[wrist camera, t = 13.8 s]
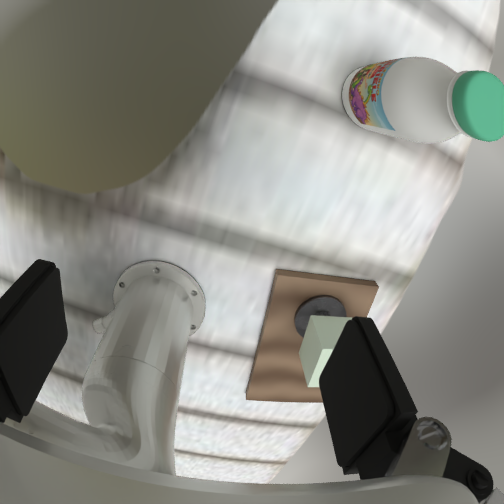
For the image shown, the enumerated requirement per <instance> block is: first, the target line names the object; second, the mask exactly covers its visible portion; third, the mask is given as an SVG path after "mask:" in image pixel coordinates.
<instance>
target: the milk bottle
mask: <svg viewBox="0 0 504 504" xmlns="http://www.w3.org/2000/svg"><path fill="white" fill-rule="evenodd" d="M342 100H343V105H344V108H345V110H346V112H347V114H348V116H349V117H350V118H351V119H352V121H353V122H354V123H356V124H357V125H358V126H360V127H362V128H364V129H367V130H370V131H373V132H377V133H381V134H385V135H389V136H393V137H397V138H401V139H405V140H408V141H413V142H418V143H428V144H432V143H440V142H444V141H447V140H449V139H451V138H453V137H455V136H456V135H458V134H460V133H462V134H463V135H465V136H467V137H471V138H475V139H478V140H482V141H488V142H490V141H495V140H498V139H500V138H501V137H502V136H503V135H504V85H503V84H502V82H501V81H500V80H499V79H498V78H497V77H496V76H495V75H493V74H491V73H489V72H486V71H462V72H459V73H457V72H455V71H454V70H452V69H451V68H450V67H448V66H447V65H445V64H443V63H441V62H439V61H436V60H433V59H430V58H424V57H408V58H400V59H395V60H390V61H385V62H380V63H376V64H372V65H368V66H364V67H361V68H358V69H357V70H355V71H353V72H352V73H351V74H350V75H349V76H348V78H347V79H346V81H345V83H344V86H343V91H342Z"/></svg>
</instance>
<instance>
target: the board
mask: <svg viewBox="0 0 504 504" xmlns="http://www.w3.org/2000/svg"><path fill="white" fill-rule="evenodd" d="M378 288H379V286H378V285H377V283H376V282H375V281H369V280H360V279H352V278H344V277H336V276H328V275H320V274H312V273H304V272H296V271H288V270H280V269H276V273H275V277H274V281H273V285H272V290H271V294H270V298H269V302H268V306H267V310H266V315H265V319H264V323H263V327H262V331H261V335H260V339H259V343H258V347H257V351H256V355H255V359H254V363H253V367H252V371H251V375H250V379H249V383H248V386H247V390H246V400H256V401H275V402H323V400H322V396H321V391H320V387H308V386H307V382H306V379H305V375H304V371H303V367H302V363H301V359H300V355H299V351H300V348H301V345H302V341H303V338H304V335H305V332H306V329H307V326H308V322H309V319H310V316H311V315H316V316H333V317H352V318H353V317H355V316H359V317H367V315H368V313H369V310H370V308H371V305H372V303H373V300H374V298H375V295H376V293H377V290H378Z"/></svg>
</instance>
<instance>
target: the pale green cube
mask: <svg viewBox="0 0 504 504" xmlns="http://www.w3.org/2000/svg"><path fill="white" fill-rule="evenodd" d="M348 320H352V317H333V316H316V315H311V316H310V319H309V322H308V326H307V329H306V332H305V335H304V338H303V341H302V345H301V348H300V351H299V355H300V359H301V363H302V367H303V371H304V375H305V379H306V382H307V386H308V387H319V377H320V375H321V373H322V371H323V369H324V367H325V365H326V363H327V361H328V359H329V357H330V355H331V353H332V351H333V349H334V347H335V345H336V343H337V341H338V339H339V337H340V335H341V333H342V331H343V328H344V326H345V324H346V322H347V321H348Z"/></svg>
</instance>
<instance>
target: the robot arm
mask: <svg viewBox="0 0 504 504" xmlns="http://www.w3.org/2000/svg"><path fill="white" fill-rule="evenodd" d="M157 267H158V268H157ZM194 290H195V291H194ZM113 301H114V306H115V308H114V310H113V311H112V312H110V313H109V314H108V316H107V317H102V318H100V319H97V320H95V321H94V322H93V328H94V330H95V332H97V333H102V332H105V333H104V335H103V338H102V340H101V342H100V344H99V346H98V348H97V350H96V353H95V355H94V357H93V359H92V361H91V364H90V366H89V368H88V370H87V372H86V375H85V377H84V380H83V385H82V402H83V407H84V411H85V414H86V417H87V419H88V422H89V424H90V425H87V424H84V423H82V422H78V421H76V420H74V419H72V418H70V417H67V416H65V415H63V414H61V413H59V412H57V411H55V410H53V409H51V408H49V407H47V406H45V405H43V404H41V403H39V402H38V401H36V398H37V396H38V394H39V392H40V390H41V388H42V386H43V384H44V382H45V380H46V378H47V376H48V374H49V372H50V370H51V369H52V367H53V365H54V363H55V361H56V359H57V357H58V356H59V354H60V352H61V350H62V348H63V346H64V345H65V343H66V340H67V336H68V332H67V325H66V319H65V312H64V305H63V297H62V289H61V279H60V271H59V269H58V268H56V265H55V263H53V262H50V261H45V260H41V259H38V260H36V261H35V262H34V263H33V264H32V265H31V266H30V267H29V268H28V269H27V270H26V271H25V272H24V273H23V274H22V275H21V276H20V278H19V279H18V280H17V281H16V282H15V283H14V284H13V285H12V286H11V287H10V288H9V289H8V290H7V291H6V292H5V294H4V295H3V296H2V297H1V298H0V504H504V494H503V493H502V492H501V491H500V490H499V489H498V488H495V489H494V490H493V480H492V476H491V474H490V472H489V471H488V470H487V469H486V468H485V467H484V466H482V465H481V464H479V463H477V462H475V461H474V460H472V459H470V458H468V457H467V456H465V455H463V454H461V453H459V452H458V451H456V450H455V449H453V448H451V440H452V439H451V435H450V432H449V430H448V429H447V427H446V426H445V425H444V424H443V423H442V422H440V421H439V420H437V419H435V418H432V417H421V418H419V419H417V417H416V415H415V414H416V413H417V412H418V411H417V409H416V407H415V404H414V402H413V400H412V398H411V396H410V394H409V391H408V389H407V387H406V385H405V383H404V381H403V379H402V377H401V375H400V373H399V371H398V369H397V367H396V365H395V362H394V360H393V358H392V356H391V354H390V353H389V351H388V349H387V347H386V345H385V343H384V341H383V339H382V337H381V335H380V333H379V331H378V329H377V327H376V325H375V323H374V321H373V320H372V319H371V318H367V317H359V316H355V317H353V318H352V320H348V321H347V322H346V324H345V326H344V328H343V331H342V333H341V335H340V337H339V339H338V341H337V343H336V345H335V347H334V349H333V351H332V353H331V355H330V357H329V359H328V361H327V363H326V365H325V367H324V369H323V371H322V373H321V375H320V377H319V387H320V391H321V396H322V400H323V404H324V408H325V412H326V416H327V420H328V424H329V429H330V433H331V437H332V442H333V446H334V451H335V454H336V459H337V463H338V465H339V466H340V467H342V468H343V473H344V475H347V474H357V473H359V475H360V480H357V481H345V482H330V483H313V484H254V483H237V482H224V481H213V480H204V479H196V478H188V477H181V476H176V471H175V458H174V439H175V426H176V417H177V409H178V402H179V396H180V389H181V383H182V376H183V370H184V363H185V357H186V351H187V345H188V339H189V336H191V335H192V334H194V333H195V332H196V331H197V330H198V329H199V327H200V326H201V324H202V322H203V319H204V316H205V309H206V307H205V298H204V295H203V292H202V290H201V288H200V286H199V285H198V283H197V282H196V281H195V280H194V278H192V277H191V276H190V275H189V274H188V273H187V272H185V271H184V270H182V269H180V268H179V267H177V266H174V265H172V264H169V263H165V262H160V261H147V262H141V263H138V264H135V265H133V266H131V267H130V268H128V269H127V270H126V271H125V272H124V273H122V275H121V276H120V278H119V279H118V281H117V283H116V285H115V288H114V293H113Z"/></svg>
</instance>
